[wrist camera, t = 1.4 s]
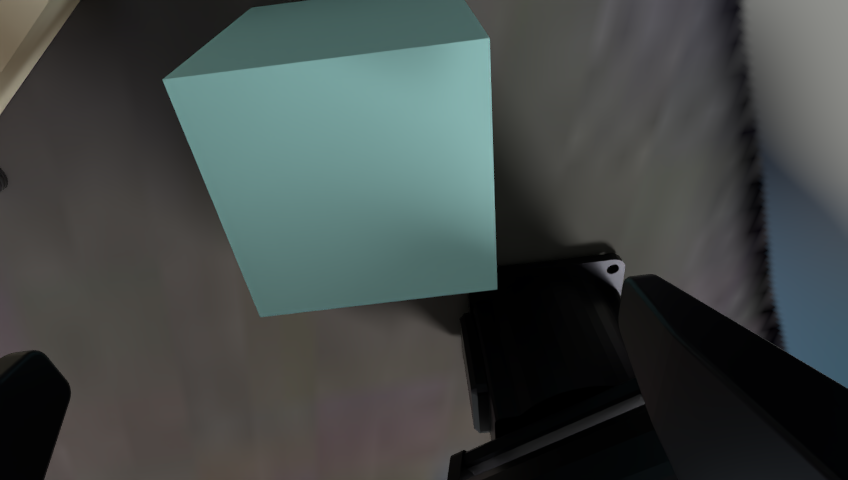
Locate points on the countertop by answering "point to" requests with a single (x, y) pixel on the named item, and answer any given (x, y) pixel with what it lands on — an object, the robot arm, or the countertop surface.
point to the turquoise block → (347, 150)
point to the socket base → (26, 42)
